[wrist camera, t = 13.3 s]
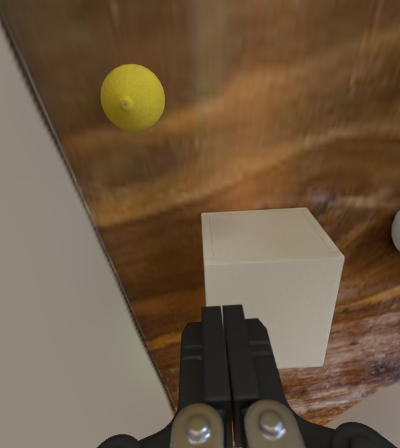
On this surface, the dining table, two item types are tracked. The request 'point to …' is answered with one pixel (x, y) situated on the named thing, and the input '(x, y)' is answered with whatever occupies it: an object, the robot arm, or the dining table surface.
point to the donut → (396, 230)
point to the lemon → (132, 97)
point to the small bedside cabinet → (275, 276)
